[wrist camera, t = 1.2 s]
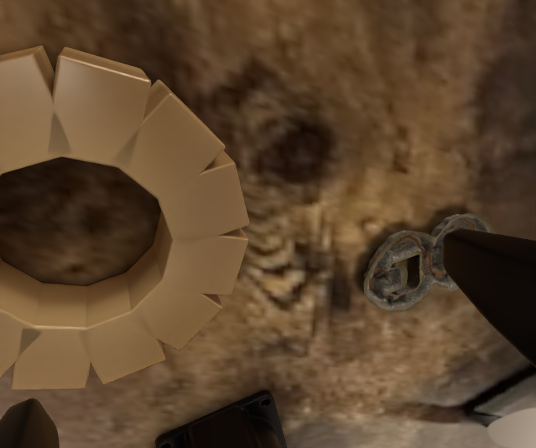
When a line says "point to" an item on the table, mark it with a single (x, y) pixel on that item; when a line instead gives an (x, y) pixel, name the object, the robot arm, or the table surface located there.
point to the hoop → (167, 234)
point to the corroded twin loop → (428, 262)
